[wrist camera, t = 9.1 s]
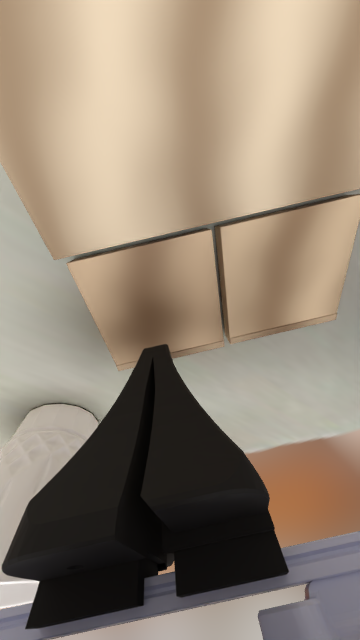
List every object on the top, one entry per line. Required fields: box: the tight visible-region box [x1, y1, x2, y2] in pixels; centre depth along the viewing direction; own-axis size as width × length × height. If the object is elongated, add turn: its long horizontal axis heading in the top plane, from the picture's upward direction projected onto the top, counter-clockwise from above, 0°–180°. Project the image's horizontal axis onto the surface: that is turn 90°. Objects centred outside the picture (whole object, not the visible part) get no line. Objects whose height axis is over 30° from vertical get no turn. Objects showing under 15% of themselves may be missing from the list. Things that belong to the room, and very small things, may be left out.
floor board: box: [0, 0, 360, 260], centre depth 8 cm, size 18×8×1 cm, turn 101°
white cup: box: [0, 404, 98, 609], centre depth 15 cm, size 8×8×10 cm
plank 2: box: [215, 194, 360, 344], centre depth 13 cm, size 8×8×1 cm
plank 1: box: [66, 228, 224, 371], centre depth 13 cm, size 8×8×1 cm
